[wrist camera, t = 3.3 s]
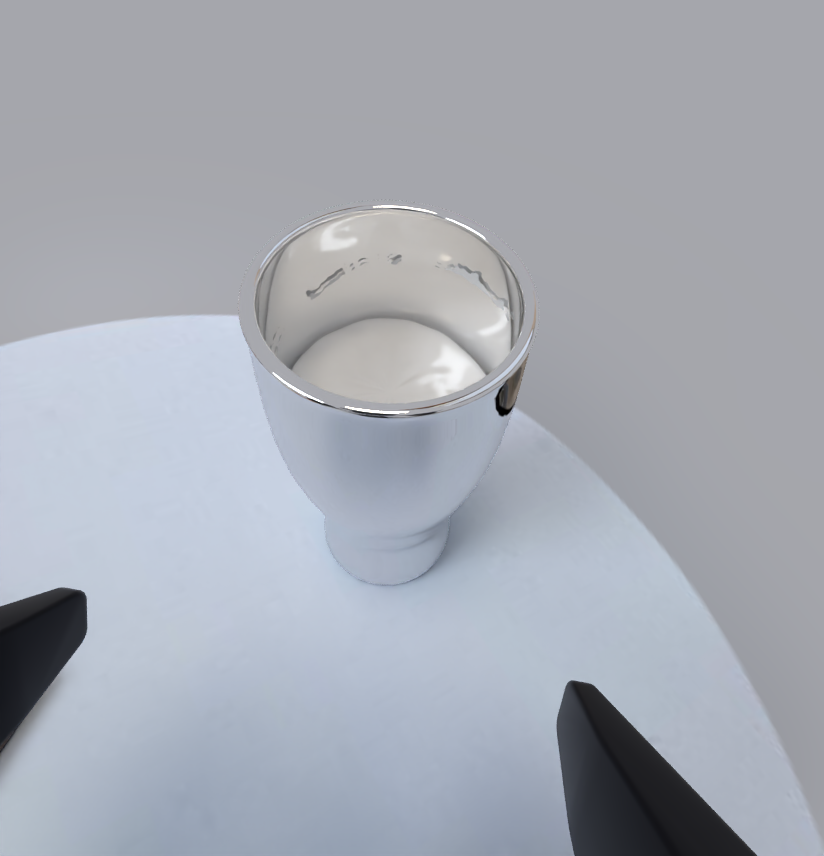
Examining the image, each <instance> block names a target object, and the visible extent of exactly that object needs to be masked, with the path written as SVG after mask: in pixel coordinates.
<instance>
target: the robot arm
mask: <svg viewBox="0 0 824 856" xmlns="http://www.w3.org/2000/svg"><path fill="white" fill-rule="evenodd" d="M86 632H87V598H86V595H85V593H84V592H82V591H81V590H75V589H70V588H57V589H54V590H51V591H47V592H44V593H41V594H38V595H35V596H32V597H29V598H26V599H22V600H19V601H16V602H13V603H10V604H7V605H4V606H1V607H0V746H1V745H2V744H3V742H4V741H5V740H6V739H7V738H8V737H9V736H10V734H11V733H12V732H13V731H14V730H15V729H16V727H17V726H18V725H19V724H20V723H21V722H22V720H23V719H24V718H25V717H26V715H27V714H28V713H29V712H30V710H31V709H32V708H33V706H34V705H35V704H36V703H37V701H38V700H39V699H40V697H41V696H42V695H43V693H44V692H45V691H46V689H47V688H48V687H49V685H50V684H51V683H52V681H53V680H54V679H55V678H56V676H57V675H58V674H59V672H60V671H61V670H62V668H63V667H64V666H65V664H66V663H67V662H68V660H69V659H70V658H71V656H72V655H73V654H74V653H75V651H76V650H77V649H78V647H79V646H80V645H81V643H82V642H83V640H84V638H85V635H86ZM557 737H558V745H559V753H560V761H561V769H562V777H563V785H564V793H565V802H566V810H567V817H568V824H569V831H570V836H571V841H572V846H573V850H574V855H575V856H757V855H756V854H755V853H754V852H753V851H752V850H751V849H750V848H749V847H748V846H747V844H746V843H745V842H744V841H743V840H742V839H741V838H740V837H739V836H738V835H737V834H736V833H735V832H734V831H733V830H732V829H731V828H730V827H729V826H728V825H727V824H726V823H725V822H724V821H723V819H722V818H721V817H720V816H719V815H718V814H717V813H716V812H715V811H714V810H713V809H712V808H711V807H710V806H709V805H708V804H707V803H706V802H705V801H704V800H703V799H702V798H701V797H700V796H699V794H698V793H697V792H696V791H695V790H694V789H693V788H692V787H691V786H690V785H689V784H688V783H687V782H686V781H685V780H684V779H683V778H682V777H681V776H680V775H679V774H678V773H677V772H676V771H675V769H674V768H673V767H672V766H671V765H670V764H669V763H668V762H667V761H666V760H665V759H664V758H663V757H662V756H661V755H660V754H659V753H658V752H657V751H656V750H655V749H654V748H653V747H652V746H651V744H650V743H649V742H648V741H647V740H646V739H645V738H644V737H643V736H642V735H641V734H640V733H639V732H638V731H637V730H636V729H635V728H634V727H633V726H632V725H631V724H630V723H629V722H628V721H627V719H626V718H625V717H624V716H623V715H622V714H621V713H620V712H619V711H618V710H617V709H616V708H615V707H614V706H613V705H612V704H611V703H610V702H609V701H608V700H607V699H606V698H605V697H604V696H603V694H602V693H601V692H600V691H599V690H598V689H597V688H596V687H595V686H593V685H592V684H589V683H584V682H579V681H573V680H572V681H569V682H568V684H567V685H566V688H565V691H564V695H563V699H562V702H561V706H560V709H559V713H558V717H557Z"/></svg>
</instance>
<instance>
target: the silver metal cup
mask: <svg viewBox="0 0 824 856" xmlns="http://www.w3.org/2000/svg"><path fill="white" fill-rule="evenodd" d="M238 311H239V320H240V325H241V329H242V332H243V335H244V338H245V340H246V342H247V344H248V348H249V352H250V356H251V360H252V365H253V369H254V373H255V378H256V382H257V386H258V389H259V393H260V397H261V401H262V405H263V409H264V411H265V414H266V417H267V420H268V423H269V426H270V429H271V432H272V435H273V438H274V441H275V443H276V445H277V447H278V449H279V451H280V453H281V456H282V458H283V460H284V462H285V464H286V466H287V468H288V470H289V472H290V473H291V475H292V477H293V478H294V480H295V481H296V482H297V484H298V485H299V486H300V488H301V489H302V490H303V492H304V493H305V494H306V496H307V497H308V498H309V500H310V501H311V502H312V503H313V504H314V505H315V506H316V507H317V508H318V509H319V510H320V511H321V512H322V513H323V514H324V515H325V521H324V528H325V537H326V541H327V545H328V547H329V550H330V552H331V554H332V555H333V557H334V559H335V560H336V561H337V563H338V564H339V565H340V566H341V567H342V568H343V569H344V570H345V571H347V572H348V573H349V574H351V575H352V576H354V577H356V578H357V579H360V580H362V581H364V582H367V583H371V584H376V585H396V584H401V583H405V582H408V581H411V580H413V579H415V578H417V577H419V576H420V575H422V574H423V573H425V572H426V571H427V570H429V569H430V568H431V567H432V566H433V565H434V564H435V562H436V561H437V560H438V558H439V557H440V555H441V554H442V552H443V550H444V548H445V545H446V542H447V539H448V533H449V517H450V516H451V515H452V514H453V513H454V512H455V511H456V510H457V509H458V508H459V507H460V506H461V505H462V504H463V502H464V501H465V500H466V499H467V498H468V496H469V495H470V494H471V493H472V491H473V490H474V489H475V488H476V486H477V485H478V484H479V482H480V481H481V480H482V478H483V477H484V475H485V473H486V472H487V470H488V468H489V466H490V464H491V462H492V460H493V458H494V456H495V454H496V452H497V450H498V448H499V446H500V444H501V441H502V439H503V436H504V434H505V431H506V428H507V426H508V423H509V420H510V418H511V415H512V412H513V408H514V405H515V401H516V398H517V394H518V391H519V388H520V384H521V381H522V377H523V373H524V369H525V365H526V361H527V358H528V355H529V352H530V350H531V347H532V345H533V343H534V340H535V337H536V334H537V330H538V325H539V301H538V295H537V291H536V288H535V285H534V282H533V280H532V278H531V276H530V273H529V272H528V270H527V268H526V266H525V265H524V264H523V262H522V260H521V259H520V258H519V256H518V255H517V254H516V253H515V252H514V251H513V249H511V248H510V246H509V245H507V244H506V243H505V242H504V241H503V240H502V239H501V238H499V237H498V236H497V235H495V234H494V233H493V232H491V231H490V230H488V229H487V228H485V227H484V226H482V225H480V224H479V223H477V222H475V221H473V220H471V219H469V218H467V217H464V216H462V215H460V214H457V213H455V212H452V211H449V210H446V209H443V208H439V207H435V206H431V205H427V204H421V203H415V202H407V201H397V200H373V201H361V202H353V203H347V204H342V205H338V206H334V207H330V208H327V209H324V210H321V211H318V212H315V213H313V214H310V215H308V216H306V217H304V218H301V219H300V220H298V221H296V222H294V223H292V224H291V225H289V226H287V227H286V228H284V229H283V230H282V231H280V232H279V233H277V234H276V235H275V236H274V237H272V238H271V239H270V240H269V241H268V242H267V243H266V244H265V245H264V246H263V247H262V248H261V250H260V251H259V252H258V253H257V255H256V256H255V257H254V259H253V260H252V262H251V263H250V265H249V267H248V269H247V271H246V273H245V276H244V278H243V281H242V284H241V288H240V293H239V301H238Z"/></svg>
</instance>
